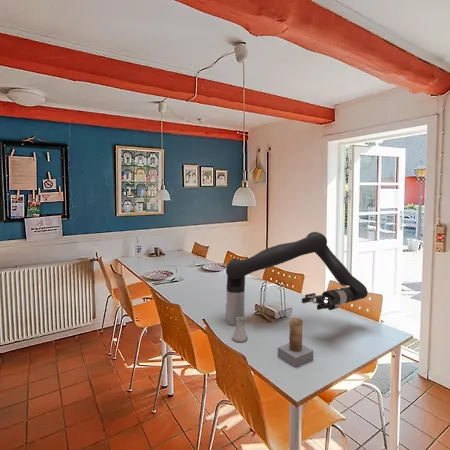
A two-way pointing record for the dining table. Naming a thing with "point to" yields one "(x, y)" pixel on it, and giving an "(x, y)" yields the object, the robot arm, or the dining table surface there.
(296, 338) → the walnut cylinder
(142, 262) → the dining table surface
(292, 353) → the slate plinth
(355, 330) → the dining table surface
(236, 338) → the flask
